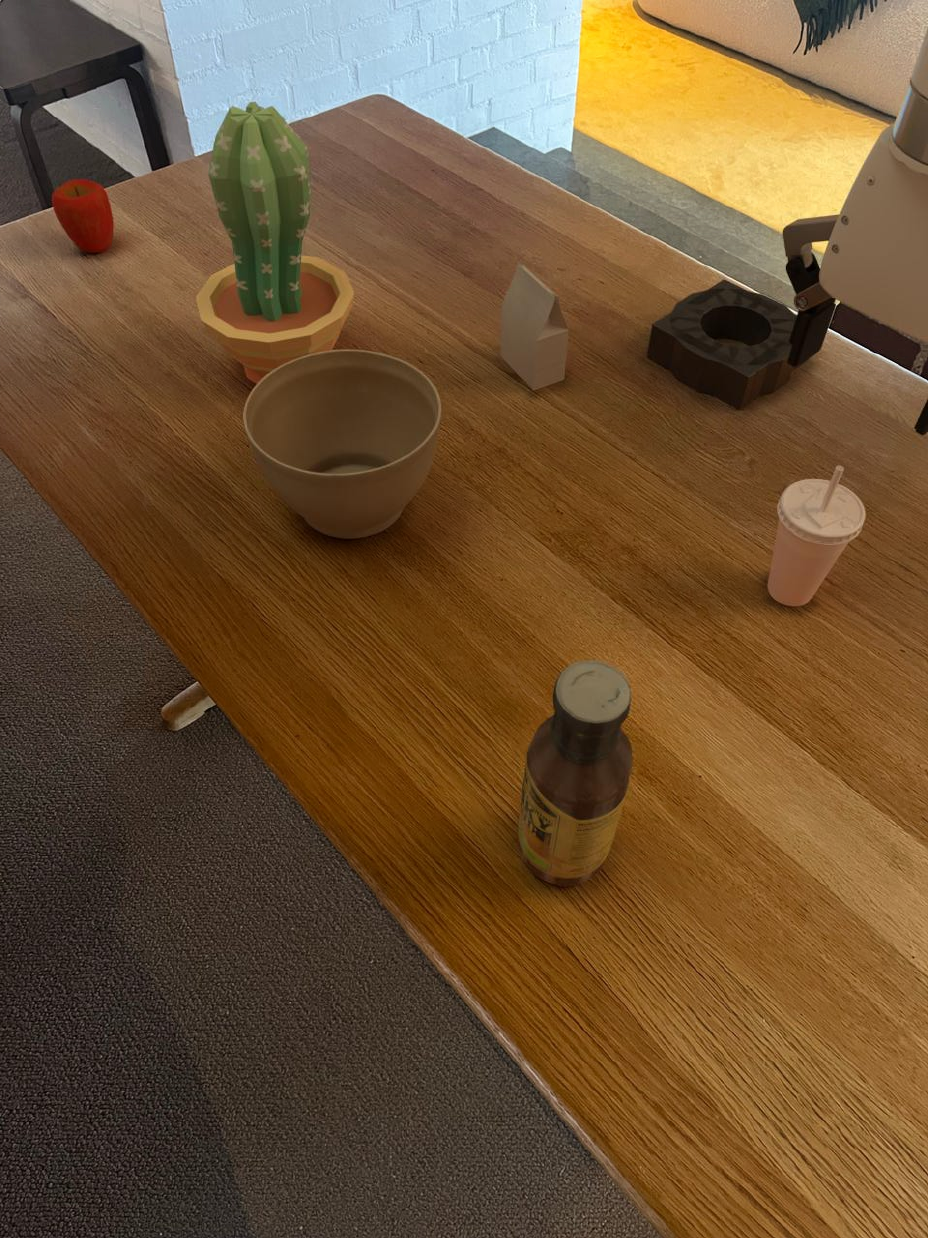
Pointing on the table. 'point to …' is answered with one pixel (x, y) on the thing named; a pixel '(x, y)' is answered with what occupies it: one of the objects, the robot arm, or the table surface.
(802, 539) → the smoothie
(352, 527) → the planter bowl
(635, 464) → the table surface
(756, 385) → the holder plate
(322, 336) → the potted cactus
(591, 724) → the sauce bottle
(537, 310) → the gable top carton
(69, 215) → the apple
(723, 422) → the table surface
